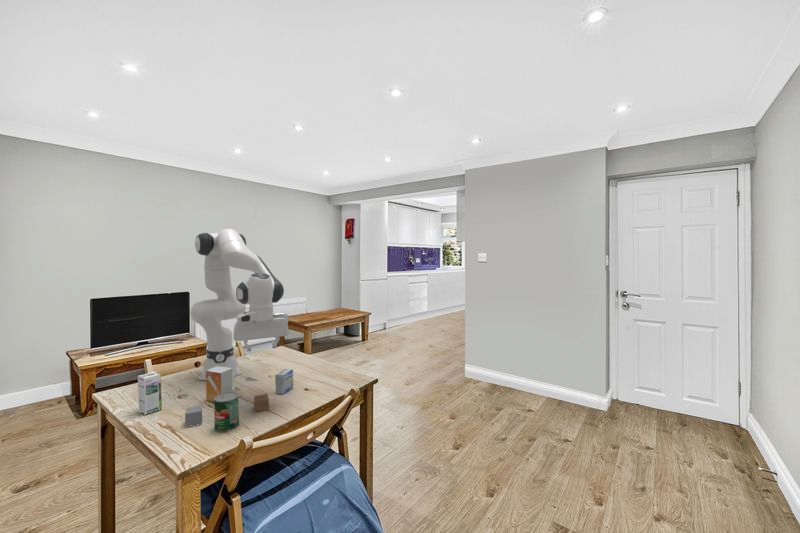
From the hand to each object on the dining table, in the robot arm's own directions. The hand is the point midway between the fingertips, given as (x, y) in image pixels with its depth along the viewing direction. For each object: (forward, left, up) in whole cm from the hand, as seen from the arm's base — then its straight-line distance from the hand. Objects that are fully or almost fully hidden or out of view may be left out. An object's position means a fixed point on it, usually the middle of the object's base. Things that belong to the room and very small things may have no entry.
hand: (261, 349), depth 136 cm
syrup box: (-17, -39, -24) cm, 49 cm away
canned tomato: (+9, -13, -24) cm, 29 cm away
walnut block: (0, 0, -24) cm, 24 cm away
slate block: (+1, -23, -24) cm, 34 cm away
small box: (-17, -15, -24) cm, 33 cm away
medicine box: (-15, +11, -24) cm, 30 cm away
